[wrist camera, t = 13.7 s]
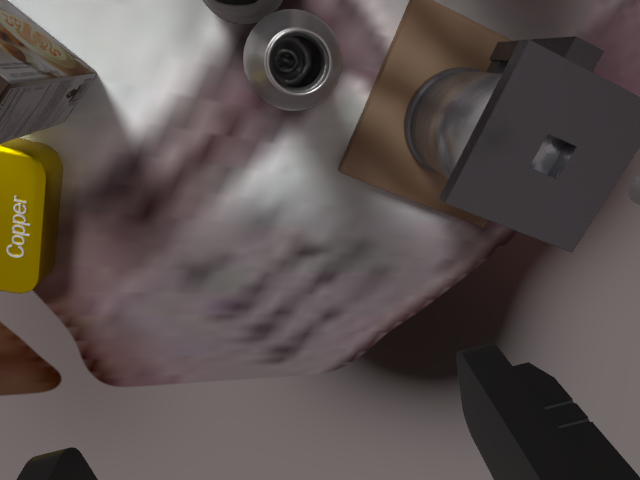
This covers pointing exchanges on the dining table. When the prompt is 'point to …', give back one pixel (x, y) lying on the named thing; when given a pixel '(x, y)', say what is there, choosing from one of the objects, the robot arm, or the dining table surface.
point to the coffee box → (35, 76)
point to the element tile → (28, 213)
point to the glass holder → (243, 9)
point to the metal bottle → (292, 59)
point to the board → (396, 92)
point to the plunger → (635, 191)
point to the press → (527, 136)
